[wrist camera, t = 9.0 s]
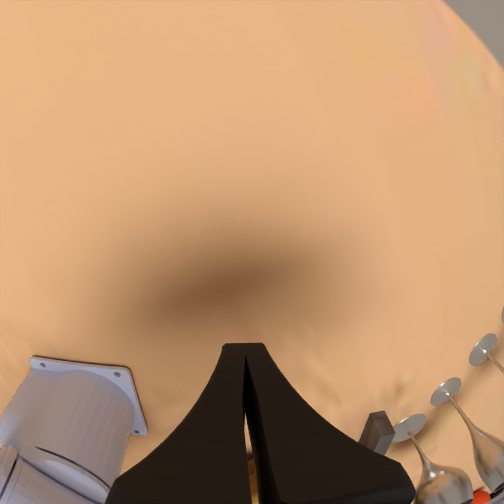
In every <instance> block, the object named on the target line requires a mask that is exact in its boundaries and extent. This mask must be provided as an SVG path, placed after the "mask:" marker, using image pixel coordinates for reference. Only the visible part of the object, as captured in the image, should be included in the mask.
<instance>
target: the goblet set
mask: <svg viewBox="0 0 504 504" xmlns="http://www.w3.org/2000/svg"><path fill="white" fill-rule="evenodd" d="M502 322H503V324H504V308H503V312H502ZM496 342H497V337H496V335H495V334H493V333H490V334H487V335H485V336H484V337H483V338H481V339H480V340H479V341H478V342H477V344H476V345H475V346H474V348H473V350H472V352H471V354H470V357H469V363H470V364H471V365H472V366H477V365H480V364H481V363H483V362H484V361H485V360H486V359H487V358H489V359H490V360H491V361H492V362H493V363H494V364H495V365H496V366H497V367H498V368H499V369H500V370H501V371H502V373H503V374H504V368H503V367H502V366H501V365H500V364H499V363H498V362H497V361H496V360H495V359H494V358H493V357H492V356H491V354H492V352H493V350H494V348H495V346H496ZM460 386H461V380H460V378H457V377H454V378H451V379H448V380H447V381H445V382H444V383H442V384H441V385H440V386H439V387H438V388H437V389H436V390H435V392H434V393H433V395H432V397H431V404H432V405H434V406H439V405H442V404H444V403H446V402H448V401H449V400H451V402H452V403H453V405H454V406H455V408H456V409H457V411H458V412H459V414H460V415H461V417H462V418H463V420H464V421H465V423H466V425H467V427H468V429H469V431H470V434H471V438H472V444H473V454H474V461H475V465H476V468H477V471H478V473H479V475H480V477H481V479H482V480H483V482H484V483H485V484H486V485H487V486H488V487H489V489H490V490H491V491H492V492H496V491H498V490H500V489H501V488H503V487H504V442H503V441H502V440H500V439H499V438H497V437H495V436H493V435H491V434H488V433H486V432H484V431H482V430H481V429H479V428H478V427H477V426H475V425H474V424H473V423H472V422H471V421H470V419H469V418H468V417H467V416H466V415H465V413H464V412H463V411H462V409H461V408H460V407H459V406H458V404H457V403H456V402H455V400H454V399H453V397H454V396H455V394H456V393H457V392H458V390H459V388H460ZM426 420H427V418H426V416H425V415H424V414H415V415H412V416H409V417H407V418H405V419H403V420H402V421H400V422H399V423H398V424H396V425H395V426H394V427H393V429H394V431H395V433H396V434H395V436H394V438H393V440H392V442H402V441H405V440H407V439H409V438H411V439H412V441H413V443H414V445H415V447H416V449H417V451H418V453H419V455H420V458H421V461H422V475H421V478H420V480H419V482H418V485H417V487H416V489H415V490H416V496H415V498H414V500H413V504H471V503H472V501H473V500H474V497H473V488H472V483H471V480H470V478H469V476H468V475H467V473H466V472H464V471H463V470H462V469H460V468H457V467H451V466H441V465H437V464H435V463H433V462H431V461H430V460H429V459H428V458H427V457H426V456H425V454H424V453H423V451H422V450H421V448H420V447H419V445H418V443H417V441H416V439H415V437H414V435H416V434H417V433H418V432H419V431H420V430H421V429H422V428H423V427H424V425H425V423H426Z"/></svg>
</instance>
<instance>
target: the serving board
mask: <svg viewBox="0 0 504 504" xmlns="http://www.w3.org/2000/svg"><path fill="white" fill-rule="evenodd" d="M503 492H504V488H503V489H502V490H501V491H500V492H499V493H498V494H497V495H495V496H494V497H493V494H491V495H490V498H491V500H492V499H494V498H495V497H497V496H498V495H500V494H502V493H503Z"/></svg>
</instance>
